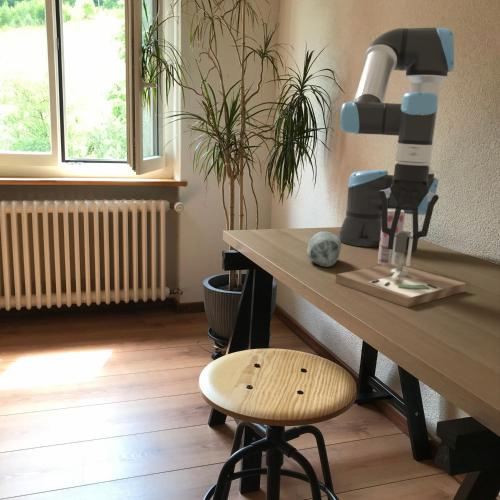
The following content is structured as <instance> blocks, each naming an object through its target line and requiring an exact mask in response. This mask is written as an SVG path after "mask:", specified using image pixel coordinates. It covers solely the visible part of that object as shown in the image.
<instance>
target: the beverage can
mask: <svg viewBox="0 0 500 500" xmlns="http://www.w3.org/2000/svg"><path fill="white" fill-rule="evenodd" d="M395 210H396V209H388V228H390V229H391V225H392V222H393V218H394V214H395ZM405 216H406V214H404V210H401V213H400V216H399V220H398V224H397V228H396V231H395V235H397V234H398V233H400V232H401V231H404V224H405ZM388 242H389V235H388V234H386V233H383V232H382V227H381V236H380V244H379V247H378V253H377V254H378V255H377V264H378V265H379V266H383V265H388V264H391V260H392V252H393V250H392V249H388ZM397 261H398V252H396V255H395V263H396V264H397Z"/></svg>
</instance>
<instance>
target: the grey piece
mask: <svg viewBox="0 0 500 500" xmlns="http://www.w3.org/2000/svg"><path fill="white" fill-rule="evenodd" d="M409 237H412V232H411V231H407V230H403V231H401V232H400V233H398V234H397V236H396V245H395V252H398V261H397V268H393V269H391V272H390V274H391V275H393V276H392V277H391V280H396V279H397V277H407V276H408V271H407V270H405V269H403V266H404V262H405V254H406V253H407V252H408V245H409Z"/></svg>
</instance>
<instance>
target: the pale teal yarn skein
mask: <svg viewBox="0 0 500 500" xmlns="http://www.w3.org/2000/svg"><path fill="white" fill-rule="evenodd" d="M341 249H342V242H341V241H340V239H339V238H338V235H336V234H334V233H333V232H330V231H319V232H317V233H315V234H313V236H312V237H311V238H310V240H309V242H308V244H307V248H306V254H307V256H308V257H309V259H310V260H311V261H312V262H313V263H315V264H316V265H318V266H321V267H324V268H327V267H328V268H329V267H332V266H334V265H335V263H336V262H337V261H338V259H339V258H340V254H341Z"/></svg>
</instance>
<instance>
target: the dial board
mask: <svg viewBox="0 0 500 500" xmlns="http://www.w3.org/2000/svg"><path fill="white" fill-rule="evenodd" d="M393 268H397V264H396V263H394V264H388V265H383V266H382V265H379V266H373V267H368V268H363V269H357V270H352V271H346V272H342V273H341V272H339V273H337V274H336V276H335V283H336V284H339V285H342V286H345V287H347V288H351V289H354V290H356V291H359V292H363V293H366V294H368V295H370V296H373V297H377V298H379V299H381V300H385V301H388V302H390V303H394V304H395V305H400V306H401V307H404V308H409V307H414V306H417V305H421V304H425V303H429V302H432V301H435V300H439V299H442V298H446V297H450V296H453V295H458V294H460V293H464V292H466V287H467V286H466V285H467V283H466V282H463V281H459V280H456V279H453V278H448V277H445V276H442V275H438V274H435V273H431V272H427V271H423V270H421V269H416V268H413V267H410V266H406V265H403V269H405V270H407V271H408V276H407V277H397V279H396V280H391V277H392V276H393V275H391V274H390V272H391V269H393Z"/></svg>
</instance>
